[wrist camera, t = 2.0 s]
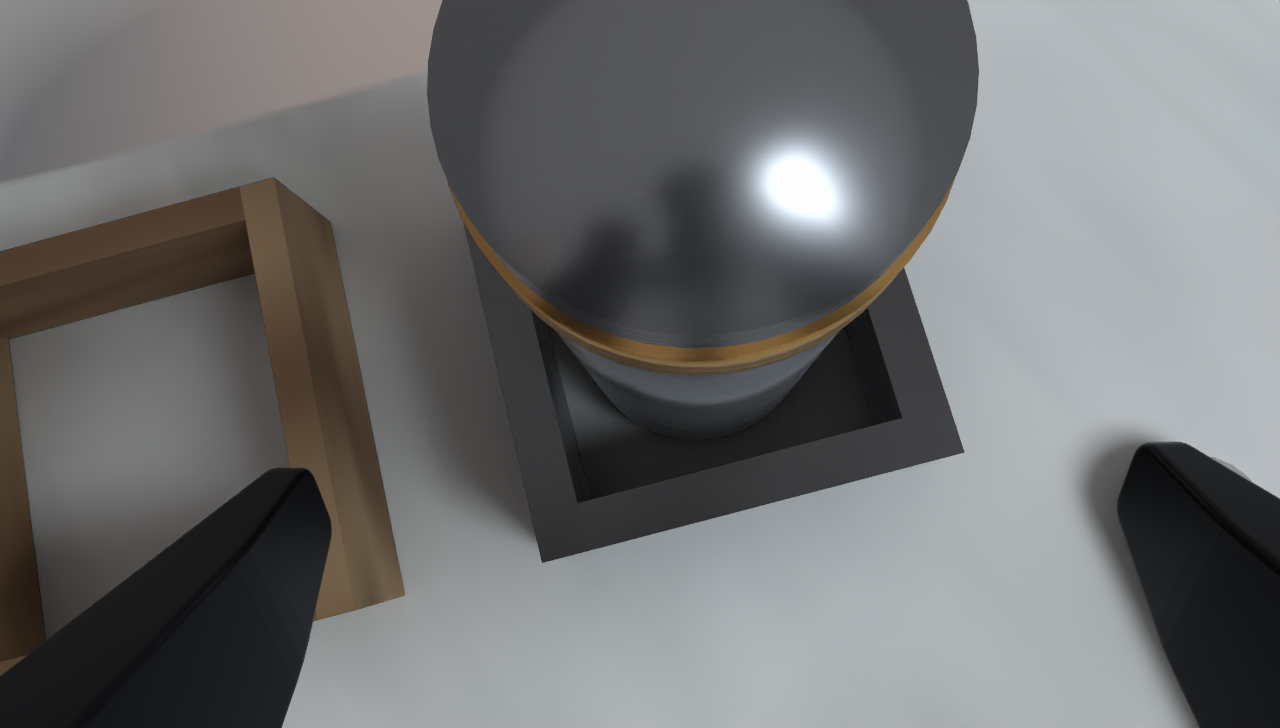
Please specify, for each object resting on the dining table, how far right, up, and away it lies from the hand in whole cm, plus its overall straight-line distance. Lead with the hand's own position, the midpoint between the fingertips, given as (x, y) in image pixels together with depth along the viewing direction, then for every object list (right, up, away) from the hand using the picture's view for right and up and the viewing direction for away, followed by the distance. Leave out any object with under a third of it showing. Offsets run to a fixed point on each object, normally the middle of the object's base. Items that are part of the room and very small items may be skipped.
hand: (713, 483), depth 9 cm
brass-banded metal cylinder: (+1, +2, +11) cm, 12 cm away
